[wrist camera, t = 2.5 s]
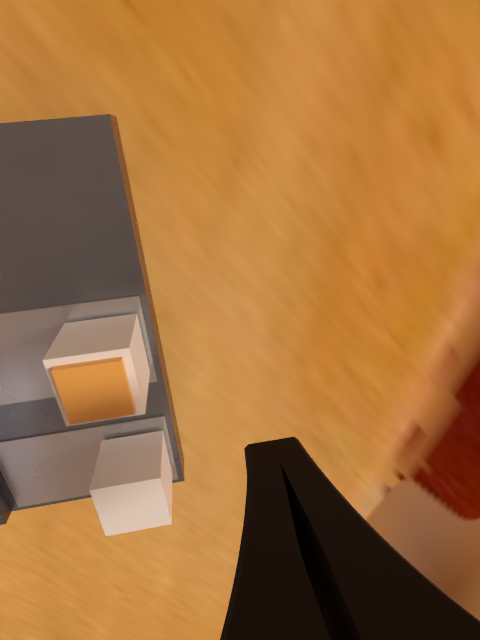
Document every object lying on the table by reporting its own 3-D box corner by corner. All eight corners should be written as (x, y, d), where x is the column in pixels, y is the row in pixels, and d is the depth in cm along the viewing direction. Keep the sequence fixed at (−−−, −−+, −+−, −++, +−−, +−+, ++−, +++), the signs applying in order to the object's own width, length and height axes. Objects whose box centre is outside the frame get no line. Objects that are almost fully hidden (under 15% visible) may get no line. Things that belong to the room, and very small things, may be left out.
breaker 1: (149, 372, 18) (144, 419, 15) (83, 381, 17) (64, 432, 14) (136, 313, 16) (128, 352, 13) (64, 323, 16) (39, 364, 13)
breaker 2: (172, 473, 21) (171, 524, 18) (115, 483, 20) (105, 536, 18) (162, 430, 19) (160, 477, 17) (101, 440, 19) (89, 490, 16)
